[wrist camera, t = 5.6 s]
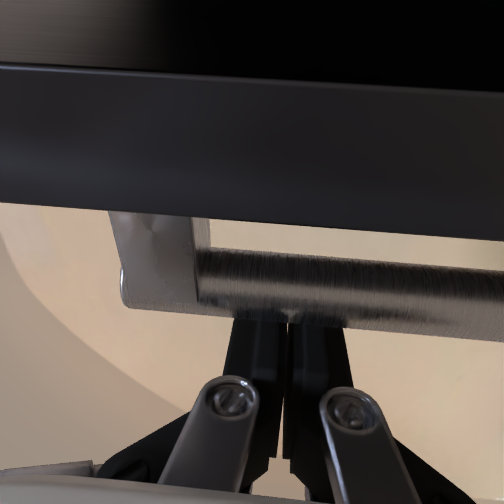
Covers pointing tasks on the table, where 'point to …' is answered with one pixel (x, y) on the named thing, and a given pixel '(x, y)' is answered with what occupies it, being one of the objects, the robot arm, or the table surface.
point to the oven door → (267, 147)
